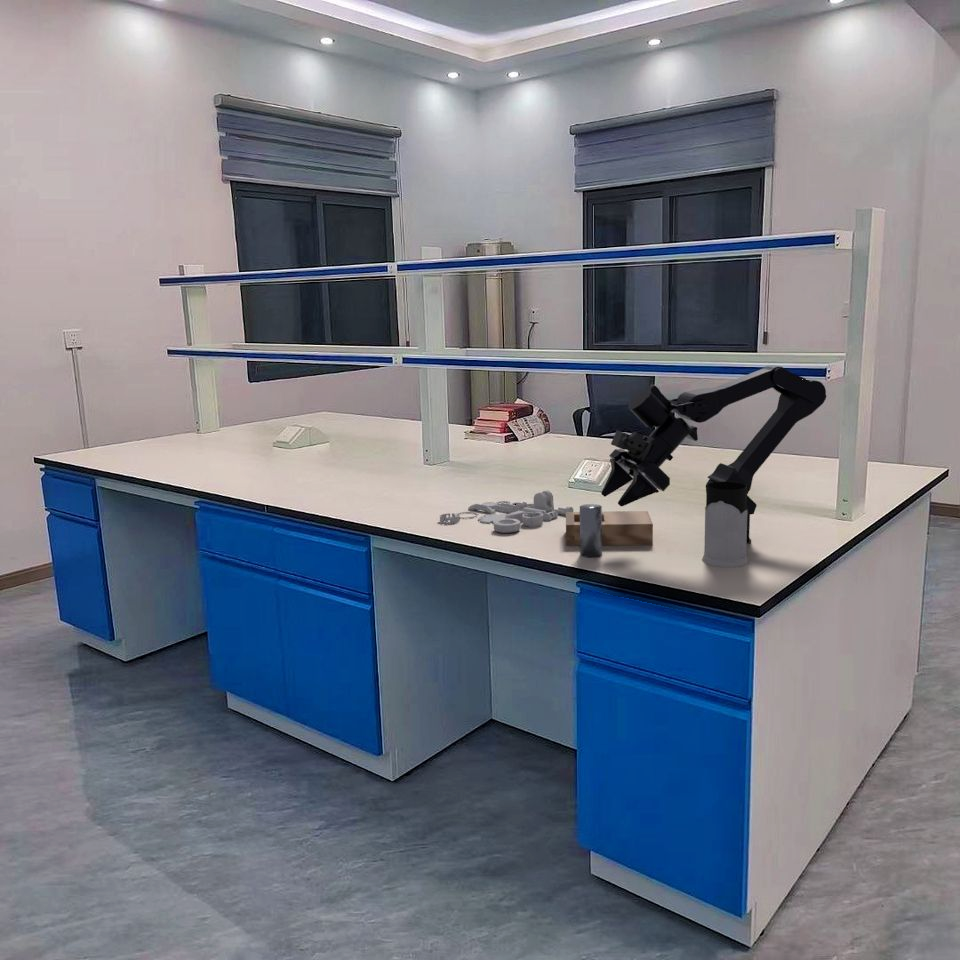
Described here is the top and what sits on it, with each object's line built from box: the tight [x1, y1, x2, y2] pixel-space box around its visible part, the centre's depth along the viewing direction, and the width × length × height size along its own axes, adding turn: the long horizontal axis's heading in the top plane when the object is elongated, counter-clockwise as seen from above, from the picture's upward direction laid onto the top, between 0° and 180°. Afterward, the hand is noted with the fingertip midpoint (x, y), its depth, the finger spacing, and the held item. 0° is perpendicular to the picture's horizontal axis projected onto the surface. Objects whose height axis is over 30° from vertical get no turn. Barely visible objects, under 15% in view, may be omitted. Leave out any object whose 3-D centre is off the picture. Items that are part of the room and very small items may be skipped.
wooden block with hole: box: [565, 510, 654, 547], centre depth 187 cm, size 18×11×4 cm, turn 85°
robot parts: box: [439, 490, 574, 534], centre depth 207 cm, size 25×25×5 cm
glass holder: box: [701, 481, 749, 568], centre depth 169 cm, size 9×14×15 cm, turn 149°
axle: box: [579, 503, 603, 559], centre depth 175 cm, size 4×4×10 cm
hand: (610, 500), depth 174 cm, fingers open, 9 cm apart
